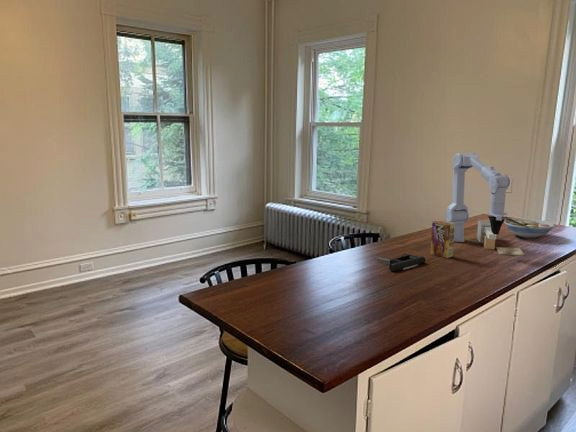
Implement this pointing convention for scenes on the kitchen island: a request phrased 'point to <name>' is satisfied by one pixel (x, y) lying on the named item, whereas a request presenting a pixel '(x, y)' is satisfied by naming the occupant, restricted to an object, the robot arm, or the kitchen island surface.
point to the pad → (510, 251)
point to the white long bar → (489, 232)
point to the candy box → (442, 238)
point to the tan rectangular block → (489, 243)
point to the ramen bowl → (528, 227)
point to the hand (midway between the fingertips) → (494, 233)
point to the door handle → (403, 262)
